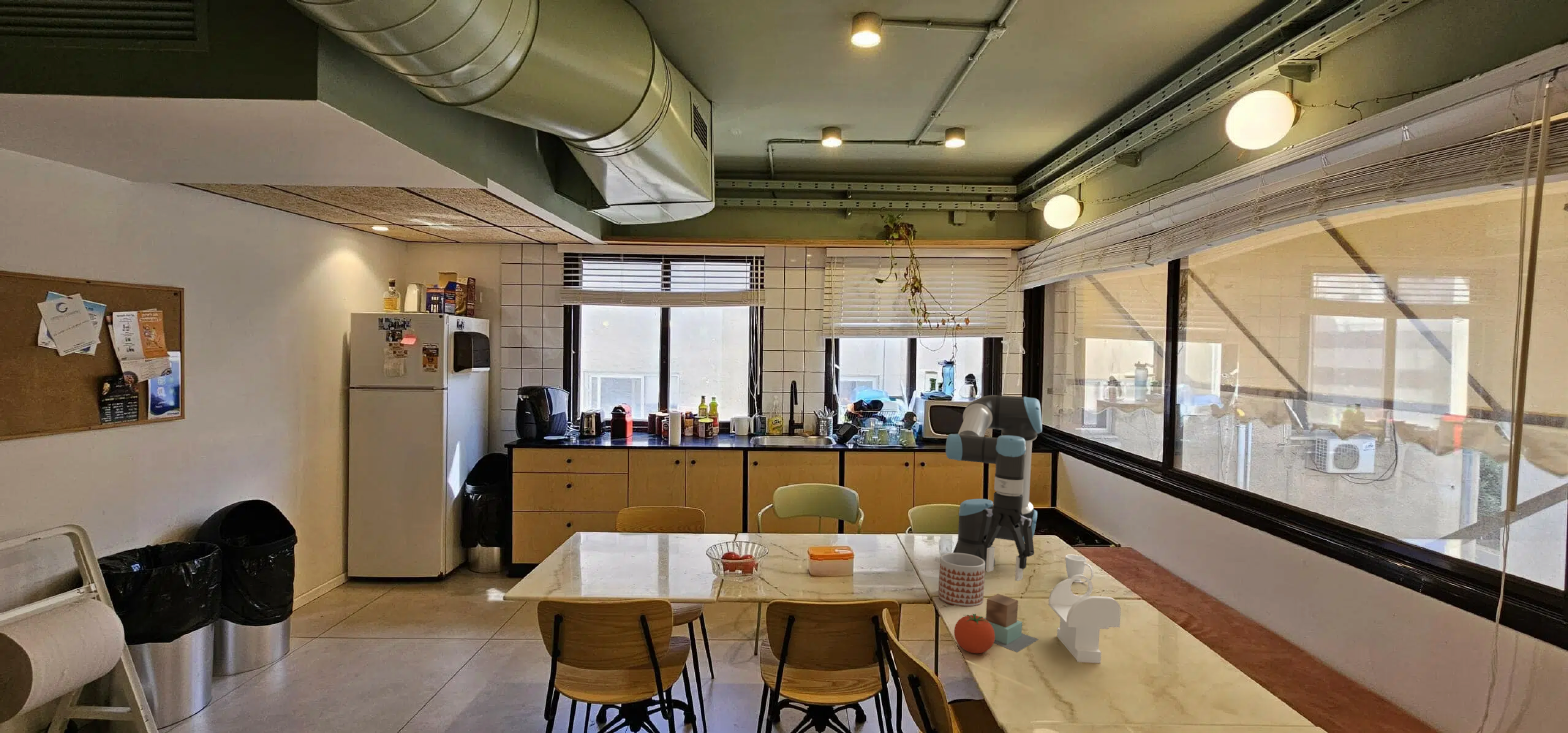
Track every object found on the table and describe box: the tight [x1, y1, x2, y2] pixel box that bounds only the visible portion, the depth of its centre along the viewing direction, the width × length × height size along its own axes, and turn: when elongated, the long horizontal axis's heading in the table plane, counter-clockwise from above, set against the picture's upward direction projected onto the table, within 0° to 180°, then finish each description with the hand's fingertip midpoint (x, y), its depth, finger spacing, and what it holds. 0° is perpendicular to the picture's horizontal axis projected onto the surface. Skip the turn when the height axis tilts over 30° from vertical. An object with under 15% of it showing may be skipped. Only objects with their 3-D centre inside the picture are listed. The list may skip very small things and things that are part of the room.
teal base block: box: [983, 617, 1023, 644], centre depth 185 cm, size 8×8×4 cm
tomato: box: [953, 613, 995, 654], centre depth 175 cm, size 10×10×10 cm
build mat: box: [993, 633, 1039, 653], centre depth 185 cm, size 16×12×1 cm
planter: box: [937, 552, 986, 608], centre depth 211 cm, size 14×14×13 cm
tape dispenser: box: [1047, 574, 1122, 664], centre depth 179 cm, size 14×13×18 cm
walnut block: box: [985, 593, 1019, 628], centre depth 185 cm, size 6×6×6 cm
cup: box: [1064, 554, 1094, 584], centre depth 231 cm, size 7×10×8 cm
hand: (1003, 575), depth 185 cm, fingers open, 8 cm apart
